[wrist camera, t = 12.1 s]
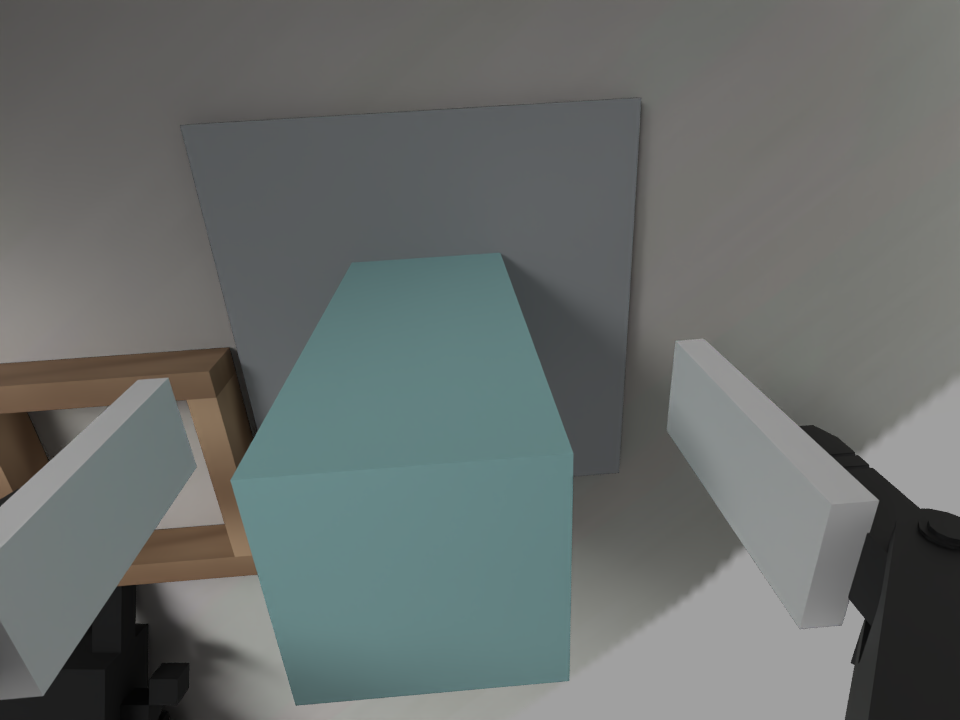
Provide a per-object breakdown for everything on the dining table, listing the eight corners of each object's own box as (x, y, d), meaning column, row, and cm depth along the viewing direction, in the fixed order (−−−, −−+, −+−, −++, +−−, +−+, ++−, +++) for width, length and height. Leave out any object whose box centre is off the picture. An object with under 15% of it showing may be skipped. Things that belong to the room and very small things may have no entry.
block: (351, 262, 19) (230, 480, 8) (500, 252, 19) (573, 453, 8) (371, 394, 21) (295, 705, 10) (505, 383, 21) (569, 680, 10)
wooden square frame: (-24, 365, 20) (-69, 391, 19) (229, 347, 21) (208, 371, 19) (66, 556, 24) (35, 592, 22) (279, 538, 25) (265, 573, 23)
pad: (188, 124, 18) (179, 125, 17) (635, 97, 18) (641, 97, 18) (279, 490, 24) (275, 499, 23) (615, 464, 24) (619, 472, 23)
